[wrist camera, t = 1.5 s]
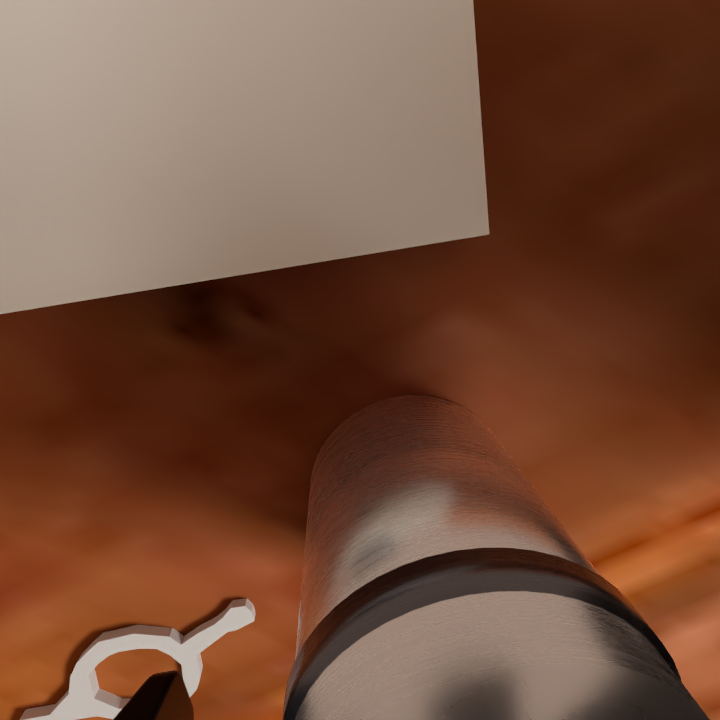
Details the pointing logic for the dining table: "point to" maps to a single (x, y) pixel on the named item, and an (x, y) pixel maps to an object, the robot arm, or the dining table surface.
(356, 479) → the piston
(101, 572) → the dining table surface
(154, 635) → the scissors
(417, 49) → the plate
